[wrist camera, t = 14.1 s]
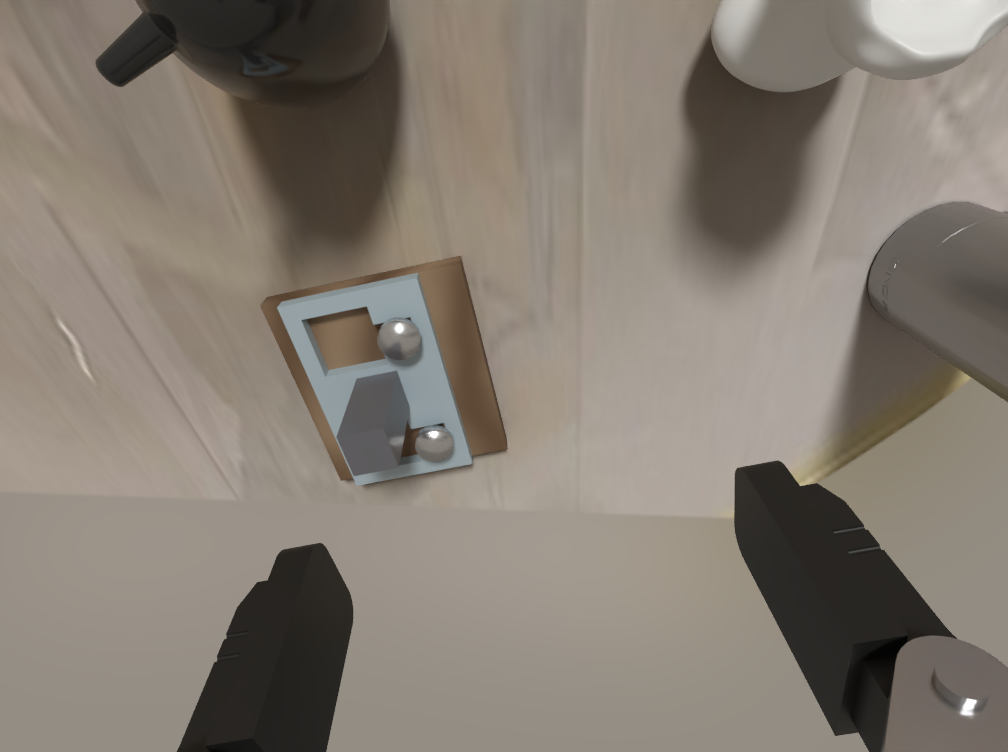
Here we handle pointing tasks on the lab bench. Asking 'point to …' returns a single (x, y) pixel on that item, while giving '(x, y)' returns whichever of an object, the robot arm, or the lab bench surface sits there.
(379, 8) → the pump dispenser
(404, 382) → the keyhole panel
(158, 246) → the lab bench surface
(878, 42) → the white scalloped vase
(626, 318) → the lab bench surface
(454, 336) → the walnut board
